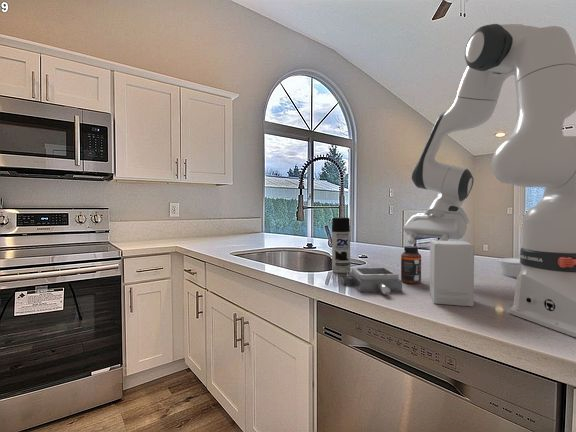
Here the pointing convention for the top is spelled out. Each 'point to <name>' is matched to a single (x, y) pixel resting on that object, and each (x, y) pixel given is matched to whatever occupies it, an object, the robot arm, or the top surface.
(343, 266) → the spray can
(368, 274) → the grey square tray
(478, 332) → the top surface
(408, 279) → the supplement bottle
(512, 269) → the ramekin
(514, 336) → the top surface
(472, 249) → the supplement box
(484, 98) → the robot arm
